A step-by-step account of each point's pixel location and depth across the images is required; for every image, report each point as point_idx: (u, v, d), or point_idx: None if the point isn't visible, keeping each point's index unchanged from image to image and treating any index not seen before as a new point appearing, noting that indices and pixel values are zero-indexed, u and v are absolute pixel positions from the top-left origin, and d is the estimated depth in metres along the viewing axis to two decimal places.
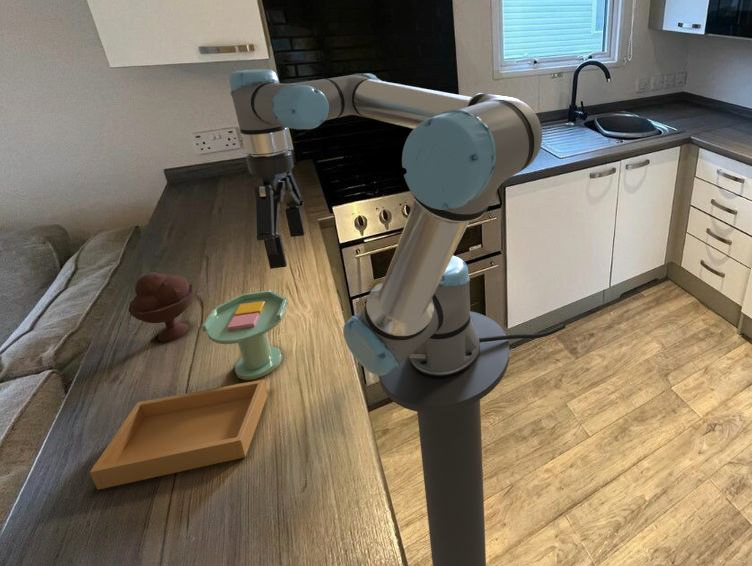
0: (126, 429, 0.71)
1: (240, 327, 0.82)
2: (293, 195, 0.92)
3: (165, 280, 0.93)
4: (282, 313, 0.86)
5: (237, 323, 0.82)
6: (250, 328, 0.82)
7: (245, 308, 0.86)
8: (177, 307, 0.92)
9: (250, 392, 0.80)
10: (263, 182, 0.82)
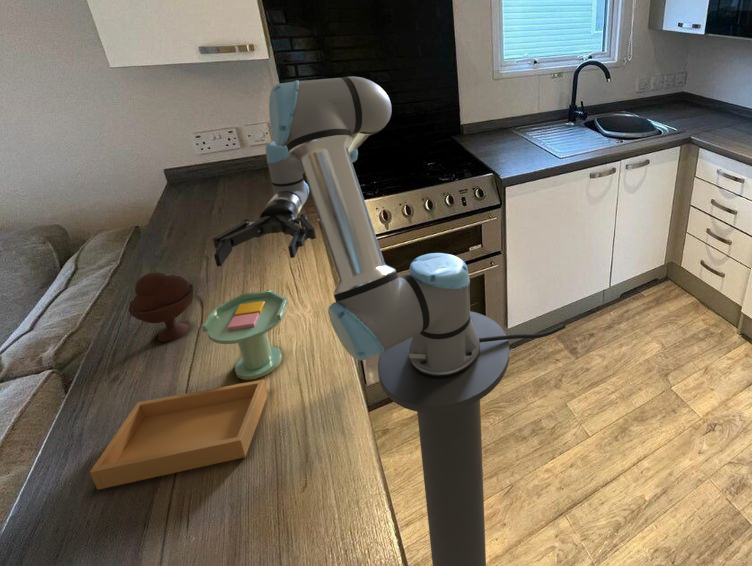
0: (126, 429, 0.71)
1: (240, 327, 0.82)
2: (293, 226, 1.01)
3: (165, 280, 0.93)
4: (282, 313, 0.86)
5: (237, 323, 0.82)
6: (250, 328, 0.82)
7: (245, 308, 0.86)
8: (177, 307, 0.92)
9: (250, 392, 0.80)
10: None
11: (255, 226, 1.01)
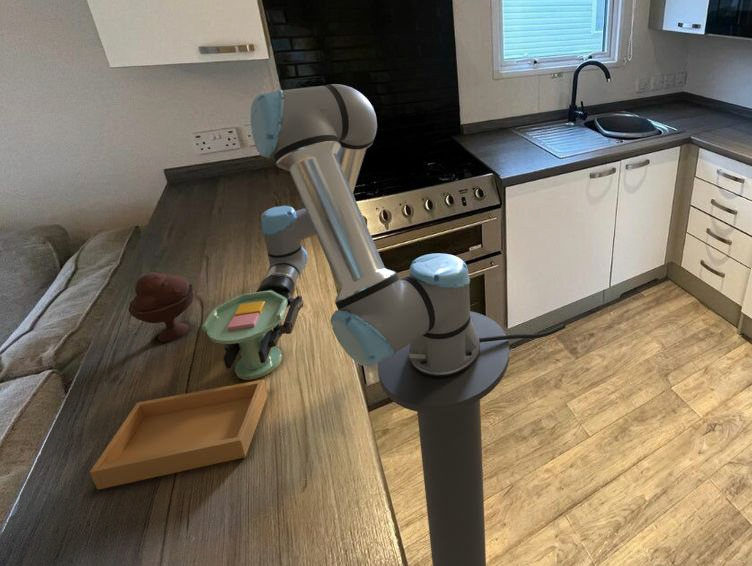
0: (126, 429, 0.71)
1: (240, 327, 0.82)
2: None
3: (165, 280, 0.93)
4: (282, 313, 0.86)
5: (237, 323, 0.82)
6: (250, 328, 0.82)
7: (245, 308, 0.86)
8: (177, 307, 0.92)
9: (250, 392, 0.80)
10: None
11: None
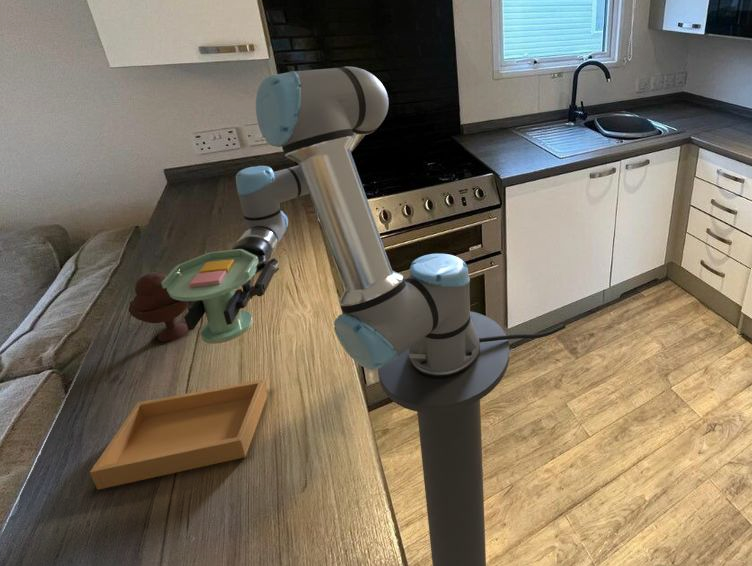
0: (126, 429, 0.71)
1: (203, 284, 0.75)
2: None
3: None
4: (251, 271, 0.78)
5: (200, 280, 0.75)
6: (214, 285, 0.75)
7: (211, 266, 0.79)
8: (177, 307, 0.92)
9: (250, 392, 0.80)
10: None
11: None
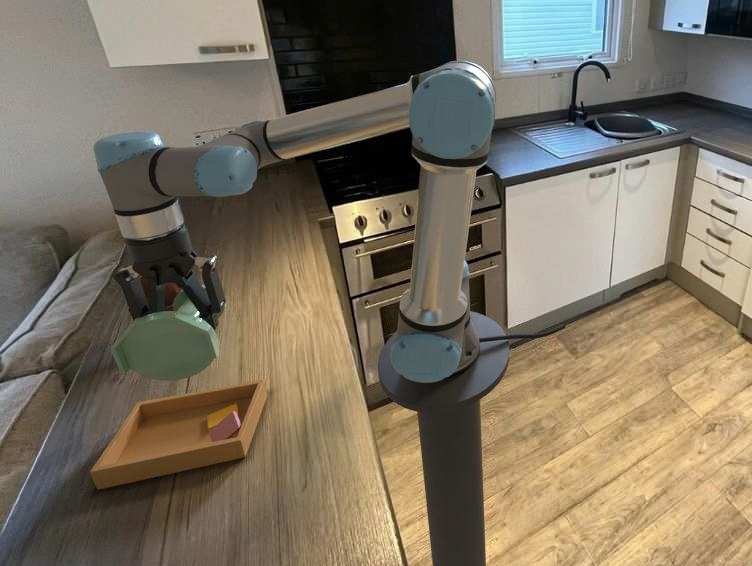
0: (126, 429, 0.71)
1: (228, 438, 0.72)
2: (192, 297, 0.72)
3: None
4: (216, 348, 0.71)
5: (220, 437, 0.71)
6: (187, 365, 0.71)
7: None
8: None
9: (250, 392, 0.80)
10: None
11: None
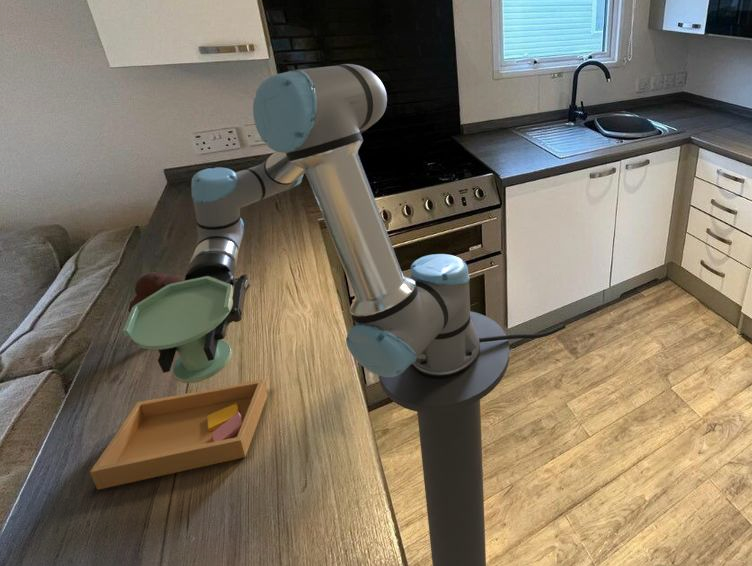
0: (126, 429, 0.71)
1: (230, 436, 0.72)
2: None
3: (165, 280, 0.93)
4: (230, 303, 0.71)
5: (222, 435, 0.72)
6: (190, 326, 0.67)
7: None
8: None
9: (250, 392, 0.80)
10: None
11: None
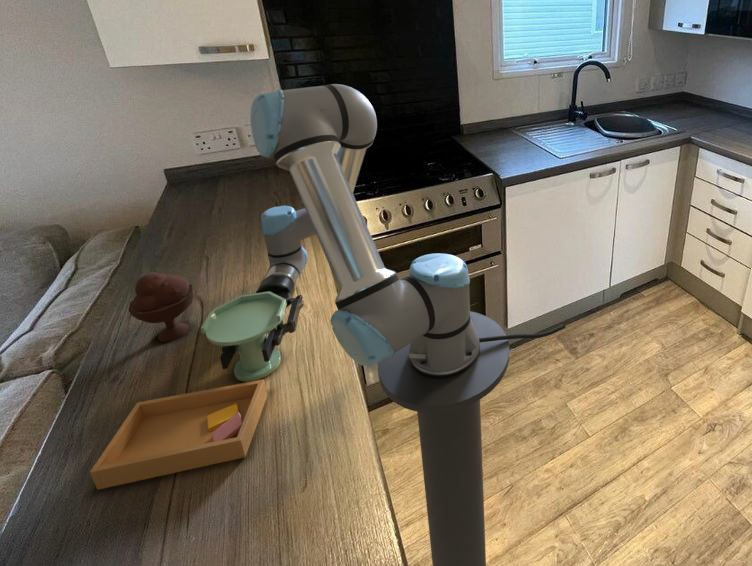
0: (126, 429, 0.71)
1: (230, 436, 0.72)
2: None
3: (165, 280, 0.93)
4: (281, 314, 0.85)
5: (222, 435, 0.72)
6: (249, 329, 0.82)
7: None
8: (177, 307, 0.92)
9: (250, 392, 0.80)
10: None
11: None
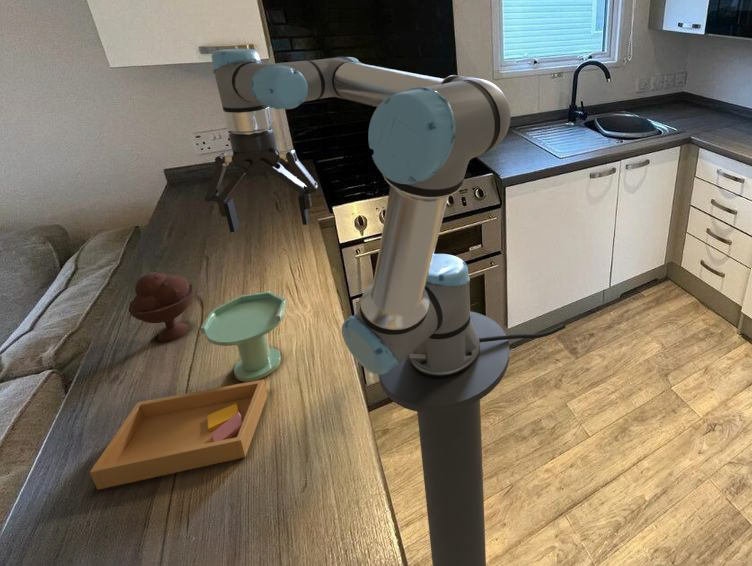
0: (126, 429, 0.71)
1: (230, 436, 0.72)
2: (288, 182, 0.90)
3: (165, 280, 0.93)
4: (281, 314, 0.85)
5: (222, 435, 0.72)
6: (249, 329, 0.82)
7: None
8: (177, 307, 0.92)
9: (250, 392, 0.80)
10: None
11: (241, 177, 0.87)
